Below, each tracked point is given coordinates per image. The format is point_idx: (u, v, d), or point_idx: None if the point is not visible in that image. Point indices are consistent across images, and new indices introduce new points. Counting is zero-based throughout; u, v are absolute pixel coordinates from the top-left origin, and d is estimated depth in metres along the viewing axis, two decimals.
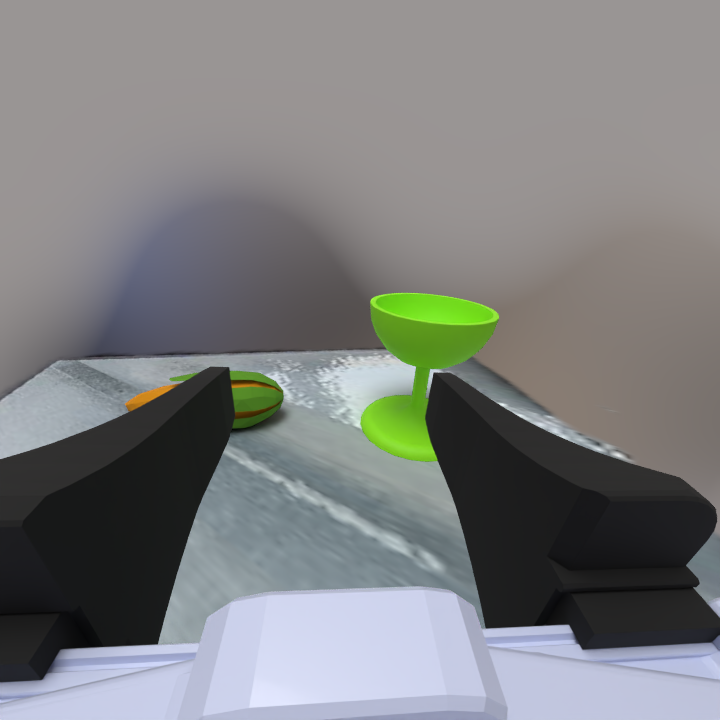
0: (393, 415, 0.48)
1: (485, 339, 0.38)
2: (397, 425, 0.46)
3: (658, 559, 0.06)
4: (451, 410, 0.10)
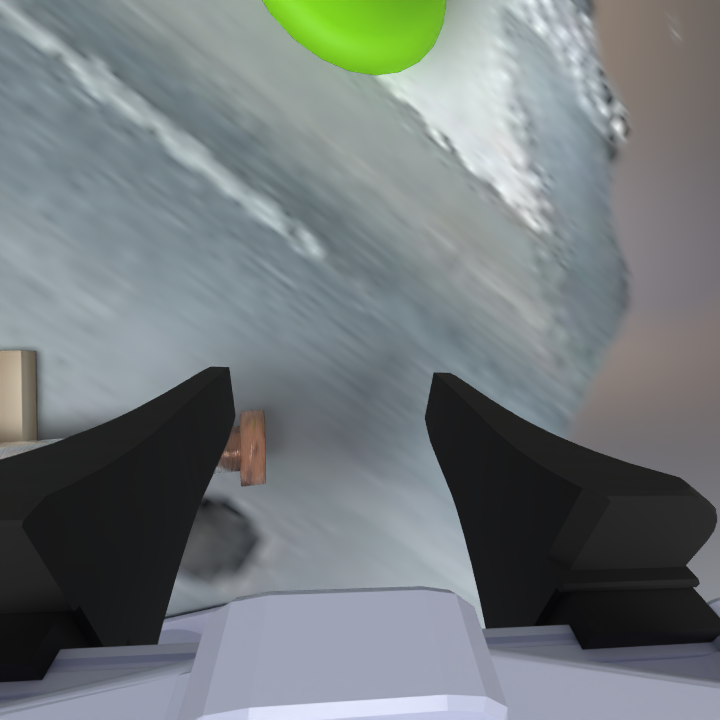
0: None
1: None
2: None
3: (658, 559, 0.06)
4: (451, 410, 0.10)
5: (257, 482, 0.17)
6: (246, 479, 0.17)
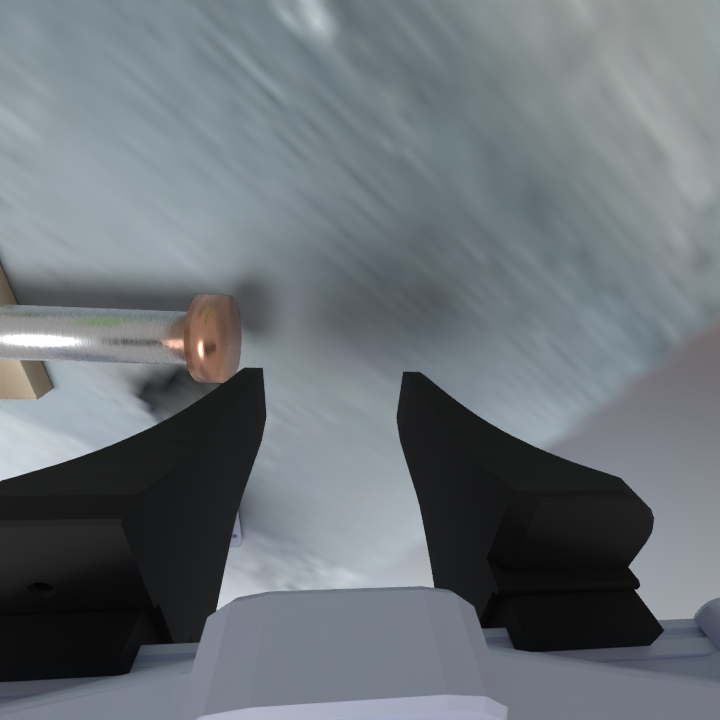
0: None
1: None
2: None
3: (598, 561, 0.05)
4: (416, 410, 0.10)
5: (216, 382, 0.15)
6: (199, 379, 0.14)
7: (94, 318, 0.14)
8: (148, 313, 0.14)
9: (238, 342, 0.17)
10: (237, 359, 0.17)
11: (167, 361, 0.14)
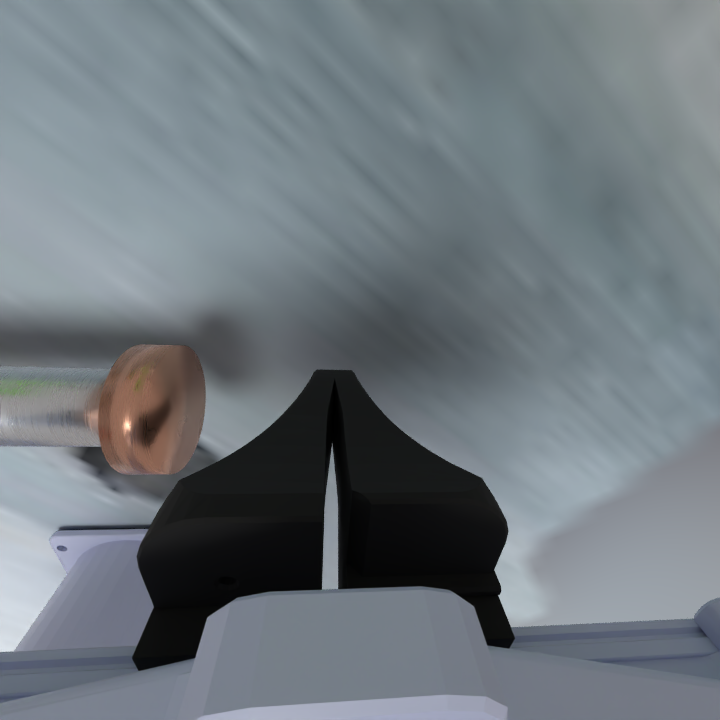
0: None
1: None
2: None
3: (459, 565, 0.05)
4: (336, 409, 0.10)
5: None
6: (132, 473, 0.10)
7: None
8: (55, 376, 0.10)
9: (199, 403, 0.12)
10: (198, 428, 0.12)
11: (85, 445, 0.10)
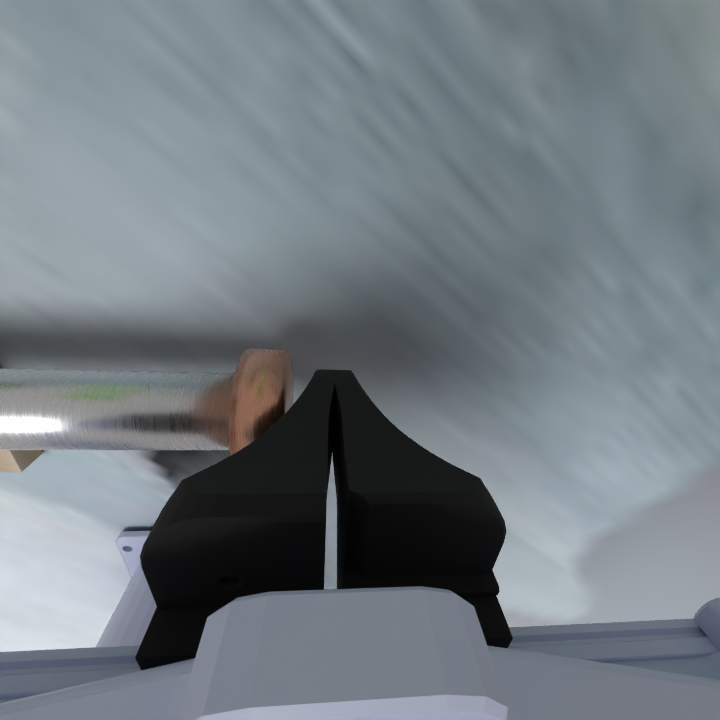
0: None
1: None
2: None
3: (457, 565, 0.05)
4: (335, 409, 0.10)
5: None
6: None
7: (91, 391, 0.09)
8: (171, 380, 0.10)
9: None
10: None
11: (199, 449, 0.10)
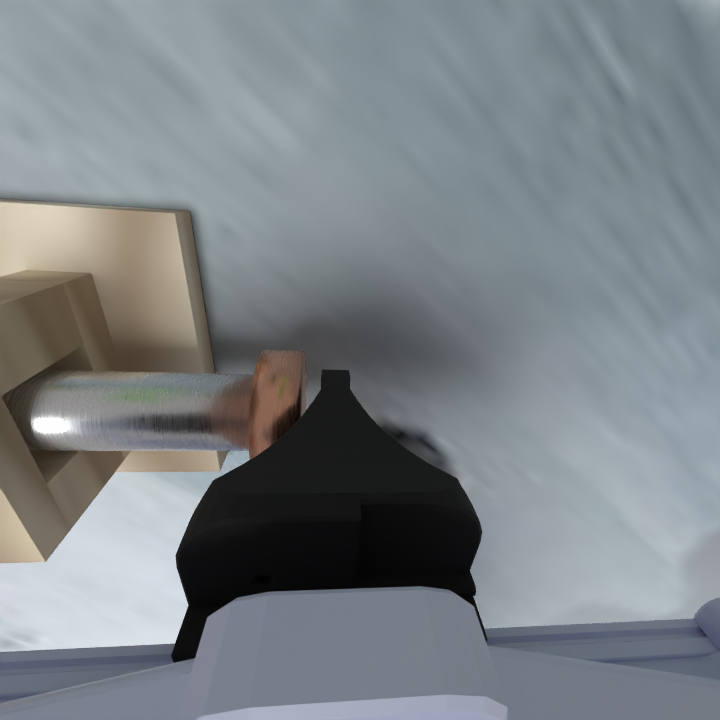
0: None
1: None
2: None
3: (433, 566, 0.05)
4: None
5: None
6: None
7: (110, 392, 0.09)
8: (189, 381, 0.10)
9: (304, 407, 0.12)
10: None
11: (216, 450, 0.10)
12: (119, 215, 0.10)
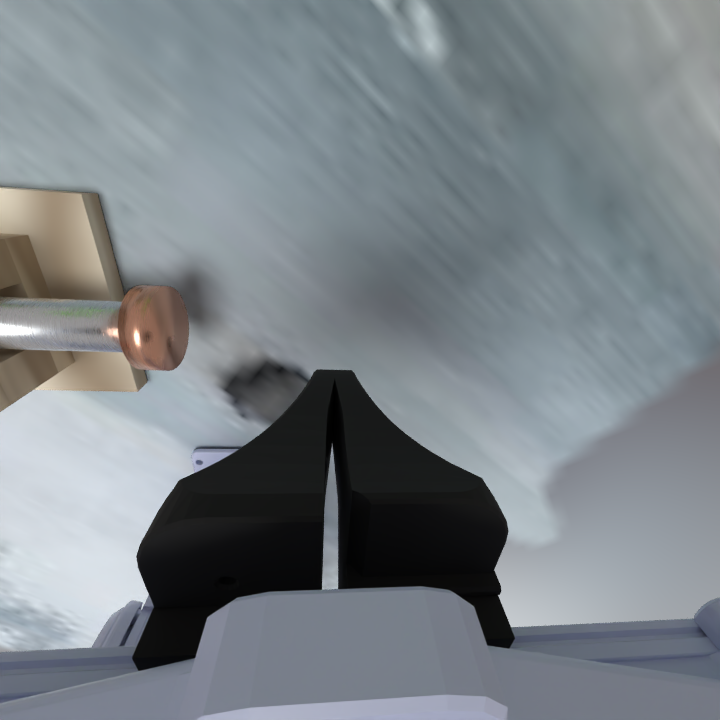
0: None
1: None
2: None
3: (458, 565, 0.05)
4: (336, 409, 0.10)
5: (157, 369, 0.15)
6: (138, 366, 0.15)
7: (35, 307, 0.14)
8: (88, 303, 0.15)
9: (184, 332, 0.17)
10: (183, 348, 0.17)
11: (108, 349, 0.15)
12: (43, 194, 0.15)
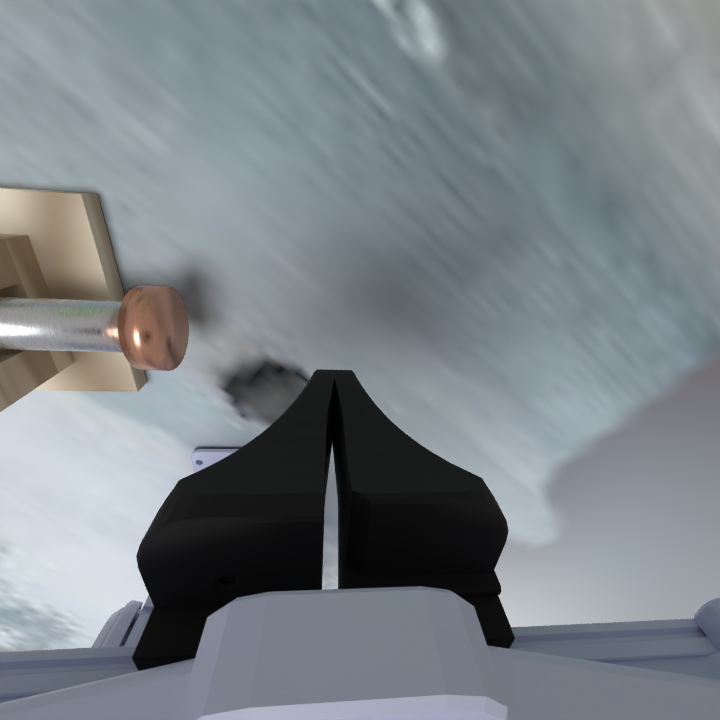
0: None
1: None
2: None
3: (459, 565, 0.05)
4: (336, 409, 0.10)
5: (156, 369, 0.15)
6: (138, 366, 0.15)
7: (35, 307, 0.14)
8: (88, 303, 0.15)
9: (184, 332, 0.17)
10: (182, 349, 0.17)
11: (108, 349, 0.15)
12: (43, 195, 0.15)
